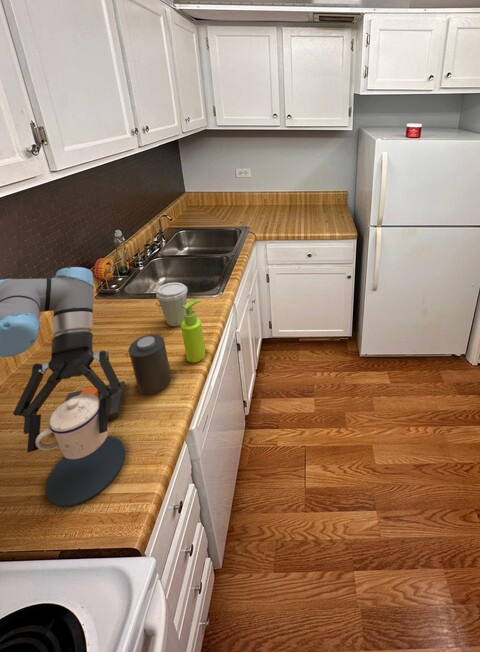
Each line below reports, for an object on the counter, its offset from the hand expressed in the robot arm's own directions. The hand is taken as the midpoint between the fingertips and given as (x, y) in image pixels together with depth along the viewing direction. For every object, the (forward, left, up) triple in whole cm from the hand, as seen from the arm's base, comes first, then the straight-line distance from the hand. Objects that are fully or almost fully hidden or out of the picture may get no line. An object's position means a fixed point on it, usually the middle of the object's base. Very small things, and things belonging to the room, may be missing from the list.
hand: (69, 441), depth 68 cm
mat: (0, +3, -13) cm, 13 cm away
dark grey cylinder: (+12, +25, -13) cm, 30 cm away
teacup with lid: (0, +3, -5) cm, 5 cm away
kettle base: (-3, +21, -13) cm, 24 cm away
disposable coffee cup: (+17, +54, -13) cm, 58 cm away
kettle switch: (-3, +21, -9) cm, 23 cm away
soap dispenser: (+24, +33, -13) cm, 43 cm away
